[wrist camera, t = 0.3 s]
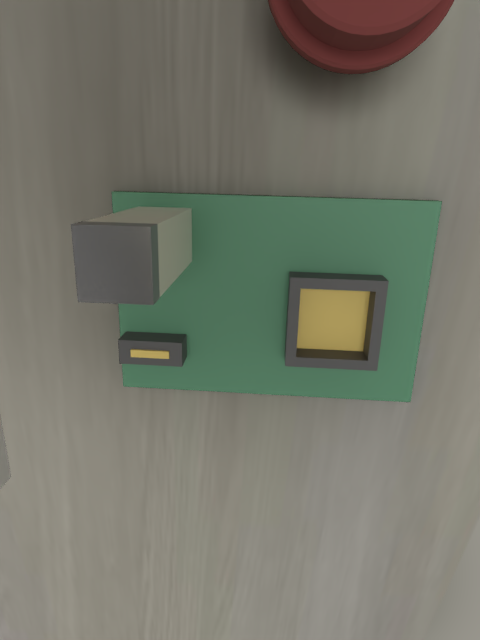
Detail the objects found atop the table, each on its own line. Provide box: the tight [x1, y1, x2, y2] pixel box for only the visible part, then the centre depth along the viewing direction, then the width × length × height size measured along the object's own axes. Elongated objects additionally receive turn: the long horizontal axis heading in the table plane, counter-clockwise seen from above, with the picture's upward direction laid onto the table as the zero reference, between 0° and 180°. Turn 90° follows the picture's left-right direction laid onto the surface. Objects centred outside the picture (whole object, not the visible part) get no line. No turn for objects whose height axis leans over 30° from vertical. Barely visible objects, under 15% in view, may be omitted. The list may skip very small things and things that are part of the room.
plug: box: [71, 206, 192, 305], centre depth 29 cm, size 4×4×12 cm
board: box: [112, 191, 442, 402], centre depth 35 cm, size 16×24×3 cm, turn 88°
